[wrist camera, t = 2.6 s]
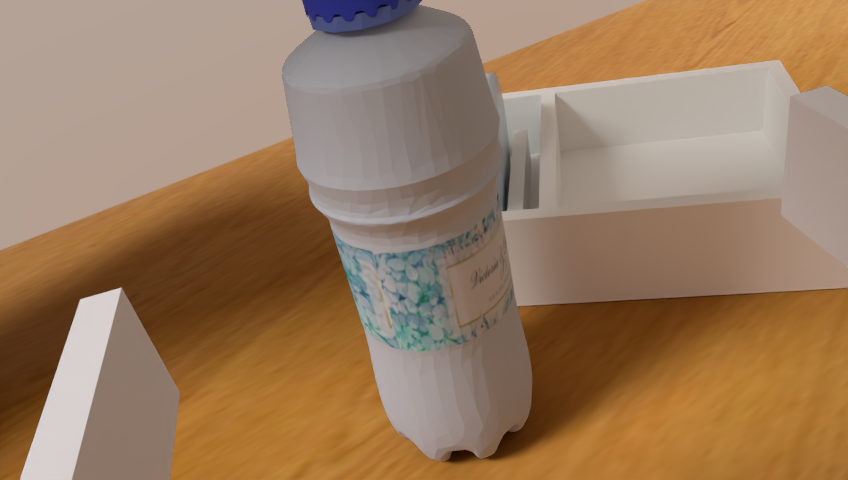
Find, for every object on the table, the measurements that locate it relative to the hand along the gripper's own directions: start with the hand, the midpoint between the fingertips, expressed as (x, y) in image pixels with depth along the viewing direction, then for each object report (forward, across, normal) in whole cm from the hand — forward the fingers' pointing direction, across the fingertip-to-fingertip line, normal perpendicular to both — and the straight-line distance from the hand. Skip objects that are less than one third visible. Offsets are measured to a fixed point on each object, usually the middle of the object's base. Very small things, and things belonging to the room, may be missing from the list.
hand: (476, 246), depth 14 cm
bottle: (+10, 0, -16) cm, 19 cm away
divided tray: (+21, +12, -16) cm, 28 cm away
